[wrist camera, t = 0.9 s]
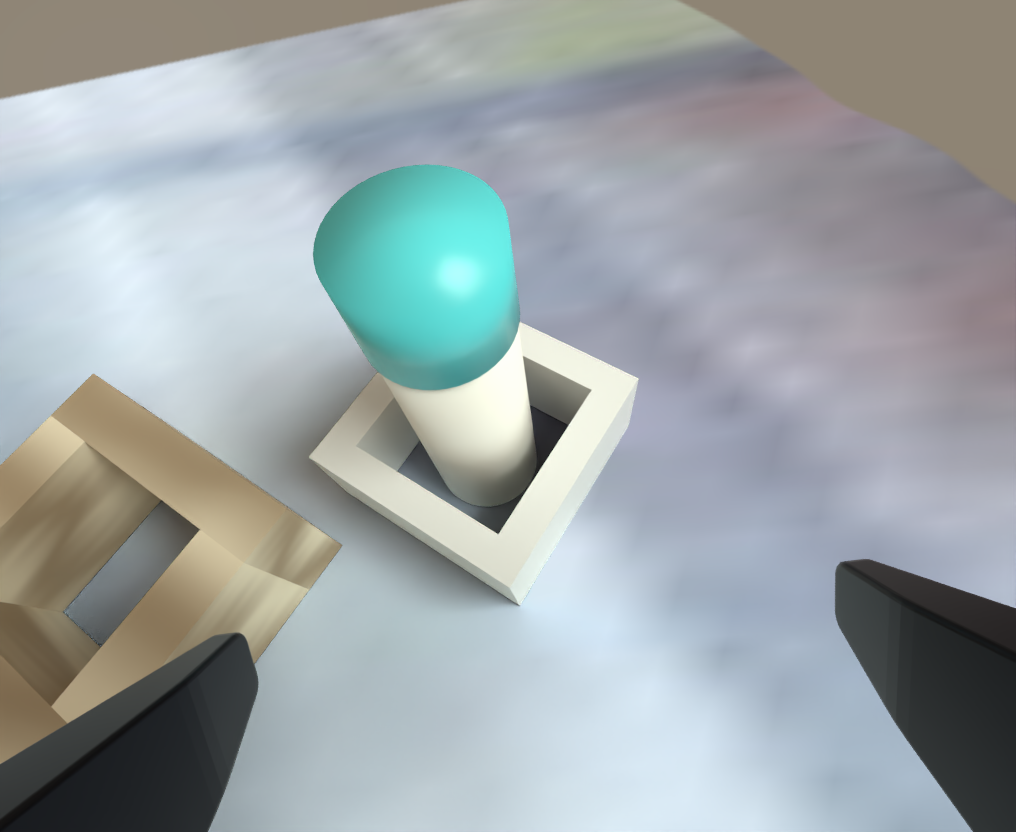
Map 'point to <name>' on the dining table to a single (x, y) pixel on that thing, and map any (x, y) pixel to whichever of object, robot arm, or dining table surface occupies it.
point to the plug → (438, 318)
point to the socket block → (100, 533)
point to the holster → (547, 502)
